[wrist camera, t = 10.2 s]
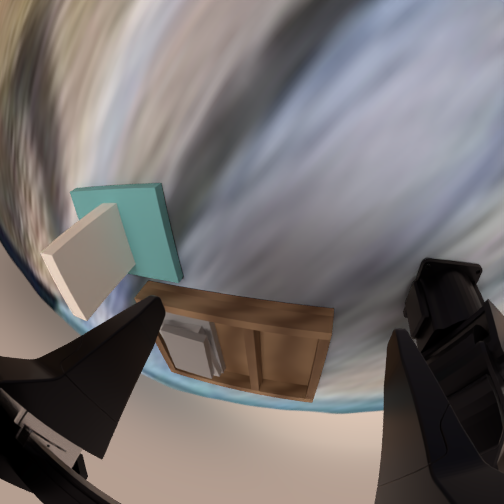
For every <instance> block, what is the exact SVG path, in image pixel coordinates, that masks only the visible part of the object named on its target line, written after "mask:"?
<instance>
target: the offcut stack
mask: <svg viewBox="0 0 504 504" xmlns="http://www.w3.org/2000/svg"><path fill="white" fill-rule="evenodd" d="M159 332H160V334H161V335H162V337H163V339H164V340H165V343H166V345H167V348H168V350H169V353H170V355H171V357H172V360H173V362H174V365H175V367H176V368H178V369H181V370H184V371H187V372H191V373H194V374H197V375H200V376H203V377H207V378H210V379H212V378H213V375H214V376H219V377H220V375H221V373H224V371H225V368H226V366H225V363H224V359H223V355H222V351H221V347H220V343H219V340H218V336H217V332H216V328H215V323H214V322H209V321H204V320H199V319H194V318H190V317H185V316H181V315H176V314H172V313H168V312H166V314H165V318H164V320H163V323H162V326H161V328H160V331H159Z"/></svg>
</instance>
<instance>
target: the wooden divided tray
mask: <svg viewBox="0 0 504 504" xmlns="http://www.w3.org/2000/svg"><path fill="white" fill-rule="evenodd" d="M150 295H155V296H159V297H160V298H161V300H162V303H163V305H164V308H165V311H166V312H168V313H172V314H176V315H181V316H185V317H190V318H194V319H199V320H204V321H209V322H214V323H215V328H216V332H217V336H218V340H219V343H220V347H221V351H222V355H223V359H224V363H225V366H226V368H225V371H224V373H221V375H220V377H219V376H214V375H213V378H212V379H210V378H207V377H203V376H200V375H197V374H194V373H191V372H187V371H184V370H181V369H178V368H176V367H175V365H174V362H173V360H172V357H171V355H170V353H169V350H168V348H167V345H166V343H165V340H164V339H163V337H162V335H161V334H160V332H159V334H158V336H157V339H156V344H157V346H158V348H159V350H160V352H161V354H162V355H163V357H164V359H165V361H166V363H167V364H168V366H169V368H170V370H171V372H174V373H177V374H180V375H183V376H187V377H190V378H194V379H197V380H201V381H204V382H208V383H212V384H216V385H220V386H224V387H228V388H232V389H236V390H241V391H245V392H250V393H255V394H260V395H265V396H271V397H277V398H283V399H289V400H296V401H303V402H311V403H312V402H313V399H314V395H315V392H316V389H317V386H318V383H319V379H320V376H321V373H322V369H323V366H324V362H325V359H326V355H327V351H328V348H329V344H330V340H331V336H332V329H333V315H334V309H333V308H324V307H315V306H307V305H298V304H290V303H283V302H275V301H268V300H260V299H253V298H247V297H240V296H233V295H227V294H221V293H214V292H208V291H202V290H197V289H191V288H185V287H179V286H174V285H169V284H163V283H158V282H153V281H148V282H147V283H146V284H145V285H144V287H143V288H142V289H141V290H140V292H139V293H138V294H137V296H136V297H135V301H136V303H137V302H139V301H141V300H143V299H144V298H146V297H148V296H150Z"/></svg>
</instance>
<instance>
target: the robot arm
mask: <svg viewBox="0 0 504 504" xmlns="http://www.w3.org/2000/svg"><path fill="white" fill-rule="evenodd" d="M427 264H429V265H428V266H426V265H427ZM477 270H478V271H477ZM481 273H482V268H481V266H480V265H478V264H470V263H462V262H454V261H445V260H437V259H425V260H424V261H423V262H422V264H421V267H420V270H419V273H418V275H417V278H416V280H415V281H414V282H413V284H412V286H411V289H410V291H409V294H408V297H407V299H406V302H405V308H404V311H403V313H404V317H406V318H408V322H409V328H410V334H411V337H412V338H411V337H410V335H409V334H408V332H407V331H406V330H405V329H395V330H394V331H393V333H392V335H391V338H390V340H389V342H388V346H387V357H386V370H385V380H384V419H383V438H382V451H381V462H380V471H379V479H378V487H377V492H376V499H375V504H504V316H503V314H502V313H501V312H500V311H499V310H498V309H497V308H496V307H495V306H494V304H493V303H492V302H491V301H490V300H489V299H488V300H487V301H485V302H484V300H483V298H482V295H481V293H480V291H479V289H478V287H477V285H476V284H477V282H478V280H479V278H480V275H481ZM165 314H166V311H165V308H164V305H163V303H162V300H161V298H160V297H159V296H155V295H150V296H148V297H146V298H144V299H143V300H141V301H139V302H137V303H136V304H134V305H132V306H131V307H129V308H127V309H126V310H124V311H122V312H120V313H119V314H117V315H115V316H114V317H112V318H110V319H109V320H107V321H105V322H104V323H102V324H100V325H99V326H97V327H95V328H93V329H92V330H90V331H88V332H87V333H85V334H84V335H82V336H80V337H78V338H77V339H75V340H73V341H72V342H70V343H68V344H66V345H64V346H62V347H60V348H58V349H56V350H54V351H52V352H50V353H48V354H46V355H44V356H42V357H40V358H37V359H30V360H29V359H19V358H10V357H2V356H0V478H1V479H2V480H4V481H6V482H8V483H11V484H13V485H15V486H17V487H19V488H22V489H24V490H26V491H29V492H32V493H34V494H35V495H36V497H37V498H38V499H39V500H40V501H41V502H42V503H44V504H121V503H119V502H117V501H116V500H114V499H113V498H111V497H110V496H108V495H107V494H105V493H103V492H102V491H101V490H99V489H98V488H96V487H95V486H93V485H92V484H91V483H89V482H88V481H86V479H87V477H88V475H87V471H86V467H85V463H84V459H83V455H82V454H81V451H82V449H83V450H85V451H87V452H89V453H91V454H92V455H94V456H96V457H98V458H100V459H103V457H104V455H105V452H106V450H107V448H108V445H109V443H110V440H111V438H112V436H113V433H114V431H115V429H116V427H117V424H118V421H119V419H120V417H121V415H122V412H123V410H124V408H125V406H126V404H127V402H128V399H129V397H130V395H131V393H132V390H133V388H134V386H135V384H136V382H137V380H138V378H139V376H140V374H141V372H142V369H143V367H144V365H145V363H146V361H147V359H148V357H149V355H150V353H151V351H152V349H153V347H154V344H155V342H156V339H157V336H158V334H159V331H160V328H161V326H162V323H163V320H164V318H165ZM412 339H416V341H417V346H416V345H415V343H414V341H413V340H412Z"/></svg>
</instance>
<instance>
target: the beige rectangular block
mask: <svg viewBox="0 0 504 504" xmlns="http://www.w3.org/2000/svg"><path fill="white" fill-rule="evenodd" d="M40 253H41V256H42V258H43V260H44V262H45V264H46V266H47V268H48V270H49V272H50V274H51V276H52V278H53V280H54V282H55V283H56V285H57V287H58V289H59V291H60V292H61V294H62V296H63V298H64V299H65V301H66V303H67V305H68V306H69V308H70V310H71V311H72V313H73V314H74V316H76V317H79V318H81V319H83V320H86V321H88V320H89V318H90V317H91V316H92V315H93V313H94V312H95V311H96V310H97V308H98V307H99V306H100V305H101V304H102V302H103V301H104V300H105V299H106V298H107V296H108V295H109V294H110V293H111V292H112V290H113V289H114V288H115V287H116V286H117V285H118V283H119V282H120V281H121V280H122V279H123V278H124V277H125V275H126V274H127V273H128V272H129V271H130V270H131V269H132V268H133V266H134V265H135V264H136V263H135V261H134V258H133V255H132V252H131V249H130V246H129V243H128V240H127V237H126V234H125V230H124V227H123V224H122V221H121V217H120V214H119V210H118V207H117V203H102V204H101V205H99V206H98V207H96V208H95V209H94V210H92V211H91V212H90V213H88V214H87V215H86V216H84V217H83V218H82V219H80V220H79V221H78V222H76V223H75V224H74V225H73V226H71V227H70V228H69V229H67V230H66V231H65V232H64V233H62V234H61V235H60V236H59V237H58V238H56V239H55V240H54V241H53V242H52V243H50V244H49V245H48V246H47V247H46V248H45V249H44V250H42V251H41V252H40Z"/></svg>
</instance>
